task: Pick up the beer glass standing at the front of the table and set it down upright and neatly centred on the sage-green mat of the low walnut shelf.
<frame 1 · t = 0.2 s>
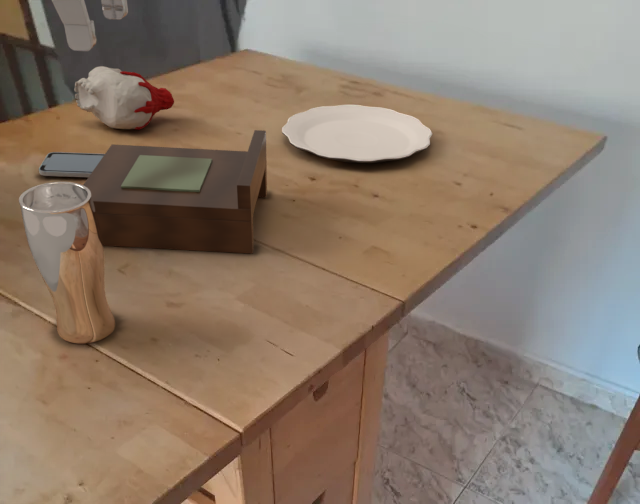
hand: (101, 32, 56), 29 cm above the table, tool pointing down, fingers open, 8 cm apart
smartphone: (94, 169, 105), on the table
beer glass: (87, 329, 75), on the table
shelf: (180, 217, 95), on the table
plate: (356, 142, 117), on the table
white irregular lump: (132, 126, 119), on the table
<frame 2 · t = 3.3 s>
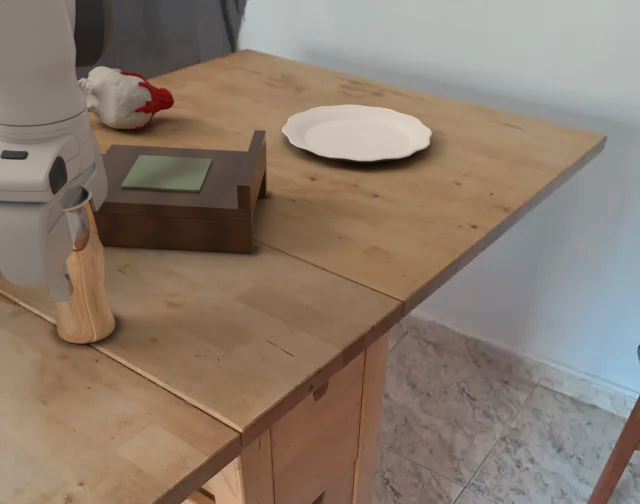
hand: (75, 278, 71), 6 cm above the table, tool pointing down, fingers closed on beer glass, 6 cm apart
beer glass: (87, 329, 75), on the table, touching gripper
everything else where it was.
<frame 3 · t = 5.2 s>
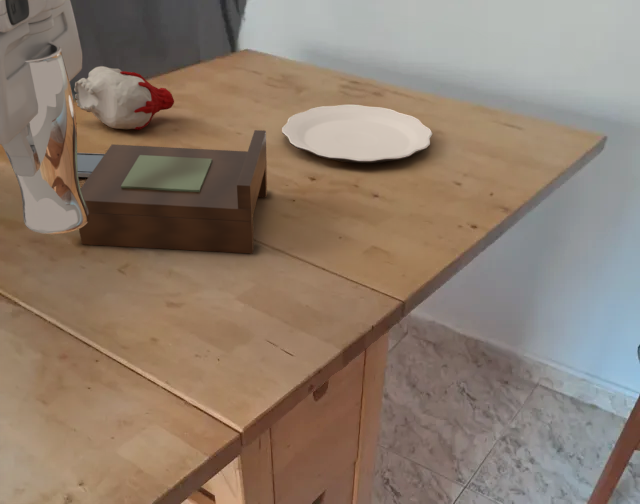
hand: (43, 156, 62), 19 cm above the table, tool pointing down, fingers closed on beer glass, 6 cm apart
beer glass: (58, 221, 67), point 12 cm above the table, touching gripper
everything else where it was.
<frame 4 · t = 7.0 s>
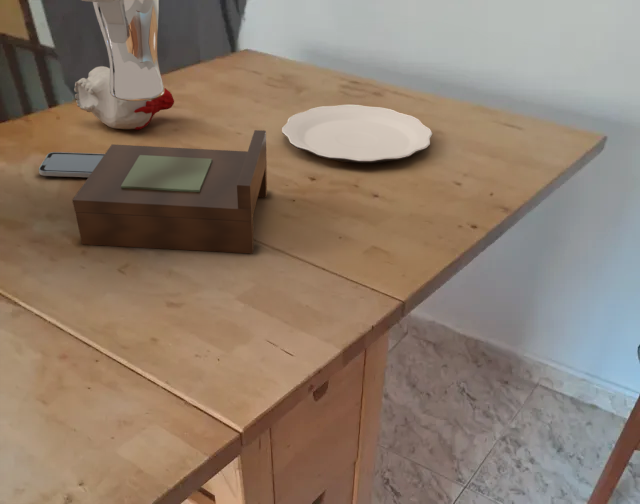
hand: (129, 32, 74), 24 cm above the table, tool pointing down, fingers closed on beer glass, 6 cm apart
beer glass: (138, 94, 78), point 18 cm above the table, touching gripper
everything else where it was.
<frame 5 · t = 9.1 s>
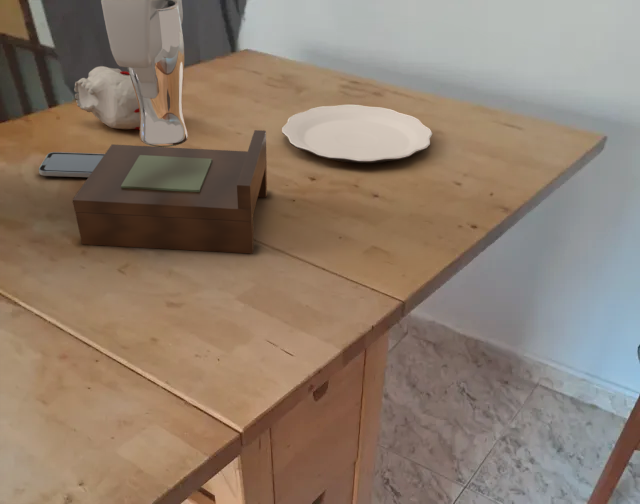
hand: (157, 86, 83), 17 cm above the table, tool pointing down, fingers closed on beer glass, 6 cm apart
beer glass: (164, 139, 87), point 10 cm above the table, touching gripper
everything else where it was.
when the fingers open (12 cm above the table, at t = 10.8 s): beer glass stays where it is, resting on shelf.
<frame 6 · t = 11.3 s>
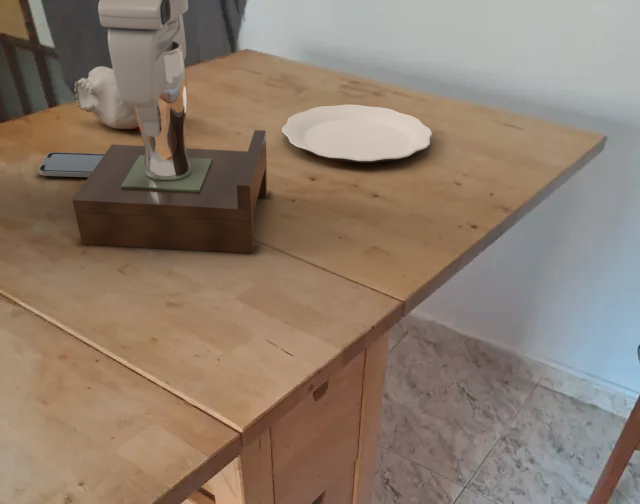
hand: (162, 120, 86), 13 cm above the table, tool pointing down, fingers open, 8 cm apart
beer glass: (168, 172, 90), point 6 cm above the table, touching shelf
everything else where it was.
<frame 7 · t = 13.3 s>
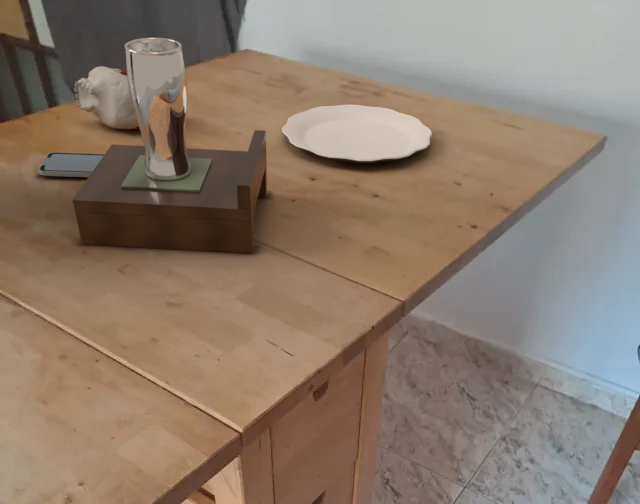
nothing on the table moved.
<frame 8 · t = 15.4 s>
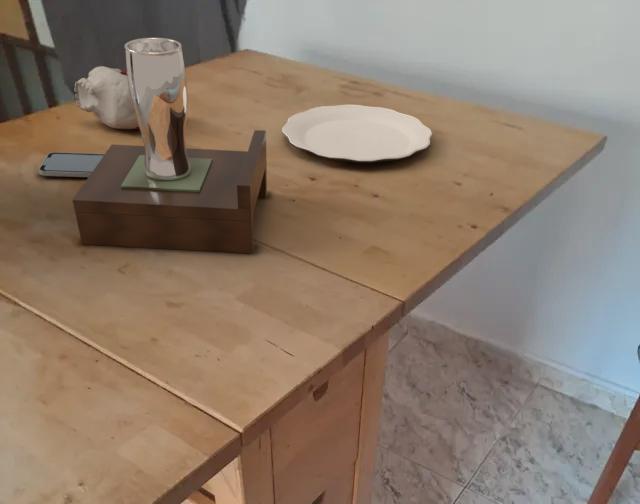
nothing on the table moved.
at the end: beer glass inside the target area on the shelf (0.1 cm from its centre), point 6.1 cm above the shelf's base; beer glass tilted 0°; the gripper is holding nothing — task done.
